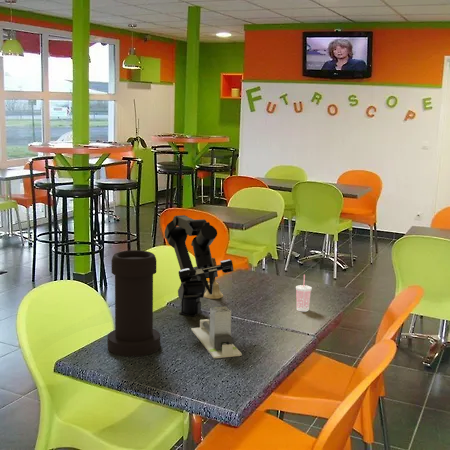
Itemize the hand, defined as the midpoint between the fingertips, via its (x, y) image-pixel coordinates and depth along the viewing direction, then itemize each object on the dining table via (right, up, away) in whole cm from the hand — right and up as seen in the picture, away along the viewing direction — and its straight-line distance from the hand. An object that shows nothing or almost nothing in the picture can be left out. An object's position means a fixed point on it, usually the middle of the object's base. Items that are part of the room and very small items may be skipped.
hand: (211, 294), depth 207 cm
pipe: (-24, -15, -13) cm, 31 cm away
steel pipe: (+2, -14, -8) cm, 16 cm away
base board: (+2, -15, -8) cm, 17 cm away
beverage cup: (+35, -10, +29) cm, 46 cm away
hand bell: (0, -6, +44) cm, 44 cm away
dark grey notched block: (+4, -16, -15) cm, 23 cm away
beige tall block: (+3, -16, -12) cm, 20 cm away
